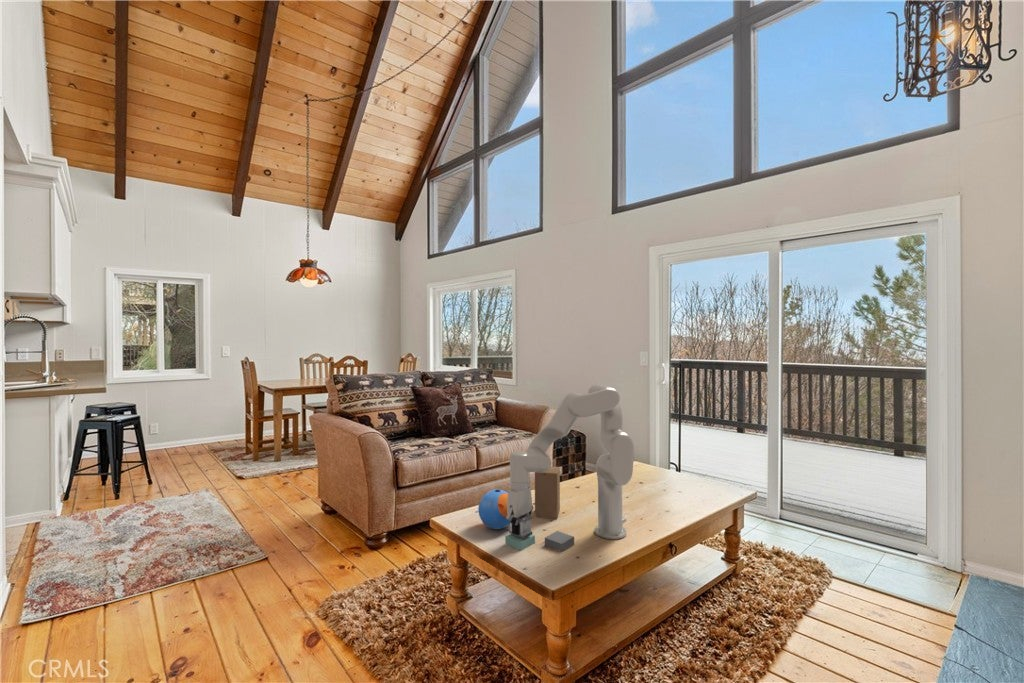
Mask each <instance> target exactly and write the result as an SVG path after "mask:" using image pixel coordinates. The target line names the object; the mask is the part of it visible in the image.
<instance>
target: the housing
mask: <svg viewBox="0 0 1024 683" xmlns="http://www.w3.org/2000/svg"><path fill="white" fill-rule="evenodd" d="M514 520H516V518H515V517H514ZM532 520H533V516H532V514H531V515H528V514H524V515H522V516H520V517H519V520H518V525H519V535H516V536H518V537H521V538H523V539H524V538H526V537H528V536H530V535H533V531H532V530H531V528H532V526H531V525H532V524H531V522H532ZM509 525H510V529H509V530H508V534H512V524H511V523H510V524H509ZM513 535H515V534H513Z"/></svg>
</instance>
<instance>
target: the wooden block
mask: <svg viewBox="0 0 1024 683" xmlns="http://www.w3.org/2000/svg"><path fill="white" fill-rule="evenodd" d="M560 470H561V468H560V467H559V466H550V468H549V469H548V470H547V471H545V472H534V517H535V518H541V519H543V518H544V519H555V520H557V519H558V517H559V514H560V512H561V502H560V501H561V495H560V494H561V492H560V491H561V489H560V488H561V484H560V483H561V479H560V477H561V475H560V473H561V471H560Z"/></svg>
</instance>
